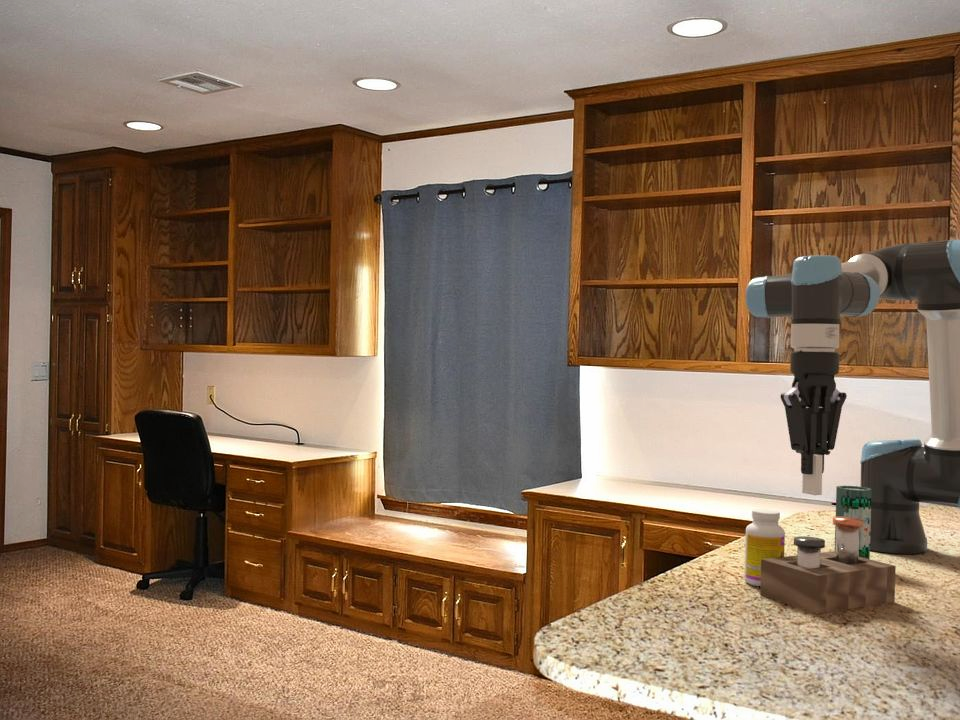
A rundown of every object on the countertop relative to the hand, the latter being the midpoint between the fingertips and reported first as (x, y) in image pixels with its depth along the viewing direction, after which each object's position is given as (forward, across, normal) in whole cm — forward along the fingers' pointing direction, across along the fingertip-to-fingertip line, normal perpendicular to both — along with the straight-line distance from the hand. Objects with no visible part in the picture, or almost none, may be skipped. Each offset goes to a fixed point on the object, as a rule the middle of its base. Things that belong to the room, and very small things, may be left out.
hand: (811, 493), depth 149 cm
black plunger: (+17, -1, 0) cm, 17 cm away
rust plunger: (+14, +8, 0) cm, 16 cm away
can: (+18, +29, +16) cm, 38 cm away
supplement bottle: (+18, +1, +11) cm, 21 cm away
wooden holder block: (+18, +4, 0) cm, 18 cm away
